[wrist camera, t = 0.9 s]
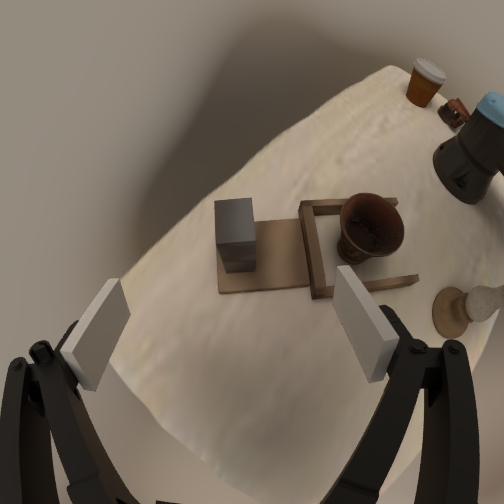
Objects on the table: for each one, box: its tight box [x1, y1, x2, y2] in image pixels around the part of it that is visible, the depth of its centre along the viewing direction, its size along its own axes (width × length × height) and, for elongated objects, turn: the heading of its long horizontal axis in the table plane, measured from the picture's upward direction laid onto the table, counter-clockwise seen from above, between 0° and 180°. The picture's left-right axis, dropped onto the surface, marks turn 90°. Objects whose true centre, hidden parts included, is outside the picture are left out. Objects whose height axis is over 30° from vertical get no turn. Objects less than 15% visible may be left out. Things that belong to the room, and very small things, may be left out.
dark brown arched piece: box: [438, 98, 470, 128], centre depth 50 cm, size 12×10×8 cm
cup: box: [337, 193, 404, 264], centre depth 36 cm, size 9×9×10 cm
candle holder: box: [433, 285, 504, 339], centre depth 27 cm, size 9×9×20 cm
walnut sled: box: [214, 198, 419, 299], centre depth 34 cm, size 29×14×12 cm, turn 95°
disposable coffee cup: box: [406, 58, 446, 107], centre depth 49 cm, size 10×10×12 cm
